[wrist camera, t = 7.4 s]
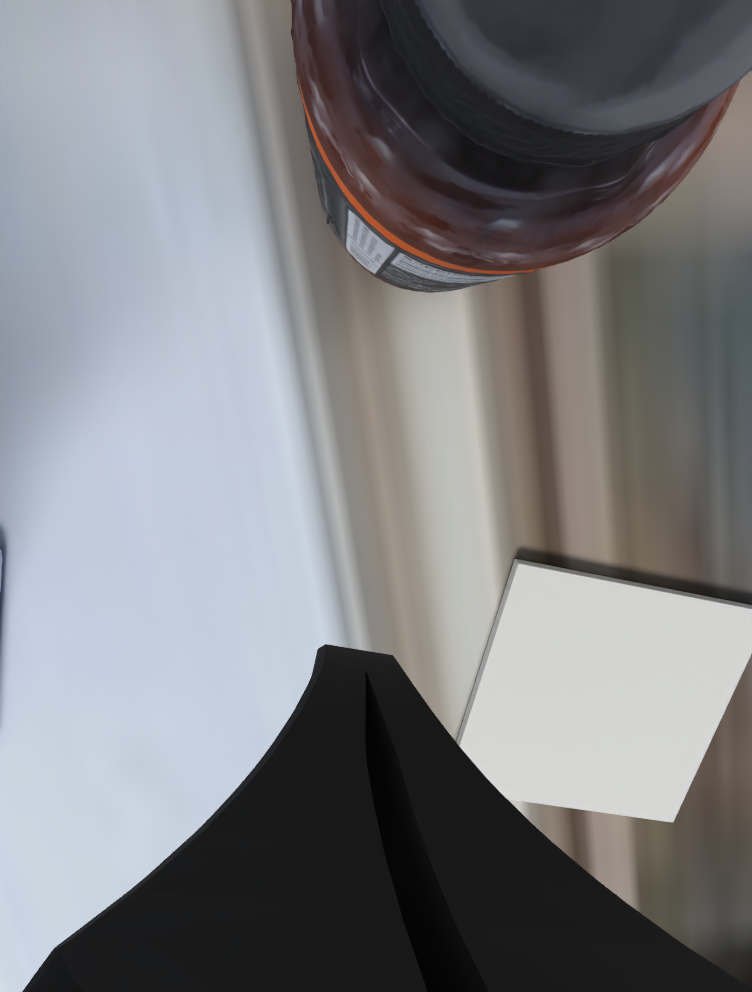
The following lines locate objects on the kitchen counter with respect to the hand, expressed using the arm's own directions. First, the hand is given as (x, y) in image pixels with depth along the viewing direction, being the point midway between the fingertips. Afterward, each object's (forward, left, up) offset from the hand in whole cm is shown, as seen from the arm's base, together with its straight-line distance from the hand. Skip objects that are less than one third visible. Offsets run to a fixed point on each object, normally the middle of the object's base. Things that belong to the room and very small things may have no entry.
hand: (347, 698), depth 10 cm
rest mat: (+10, -4, -8) cm, 14 cm away
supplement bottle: (0, +10, -8) cm, 13 cm away
